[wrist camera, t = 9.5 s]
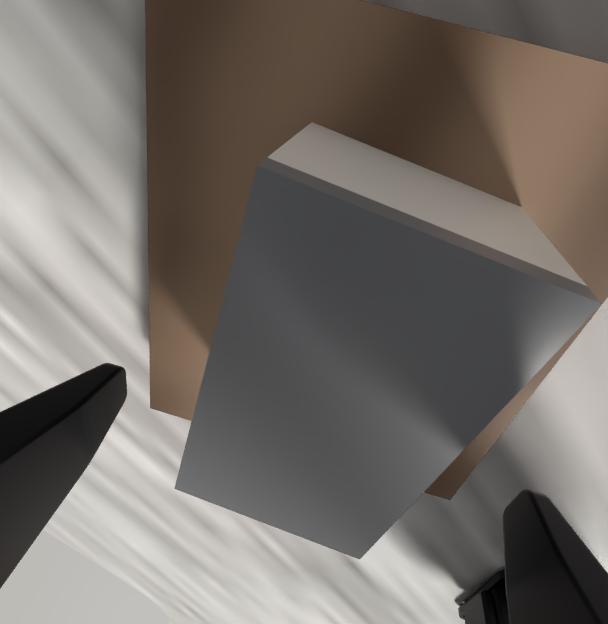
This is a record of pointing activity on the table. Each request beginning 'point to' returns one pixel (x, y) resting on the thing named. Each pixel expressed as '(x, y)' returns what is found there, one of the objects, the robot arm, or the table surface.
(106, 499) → the table surface
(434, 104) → the walnut stand
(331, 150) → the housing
